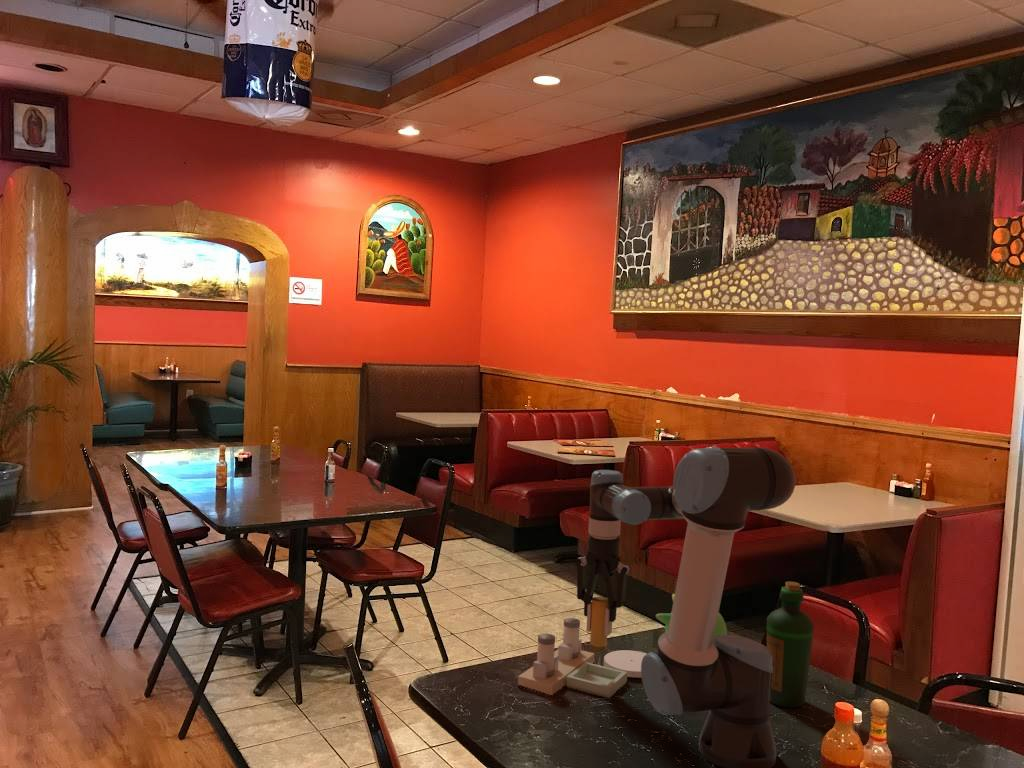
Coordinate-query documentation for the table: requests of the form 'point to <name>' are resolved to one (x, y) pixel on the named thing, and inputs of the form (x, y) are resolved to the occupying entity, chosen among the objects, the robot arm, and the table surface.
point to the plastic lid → (625, 661)
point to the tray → (596, 679)
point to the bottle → (789, 648)
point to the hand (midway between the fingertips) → (599, 631)
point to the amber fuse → (598, 624)
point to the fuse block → (556, 660)
